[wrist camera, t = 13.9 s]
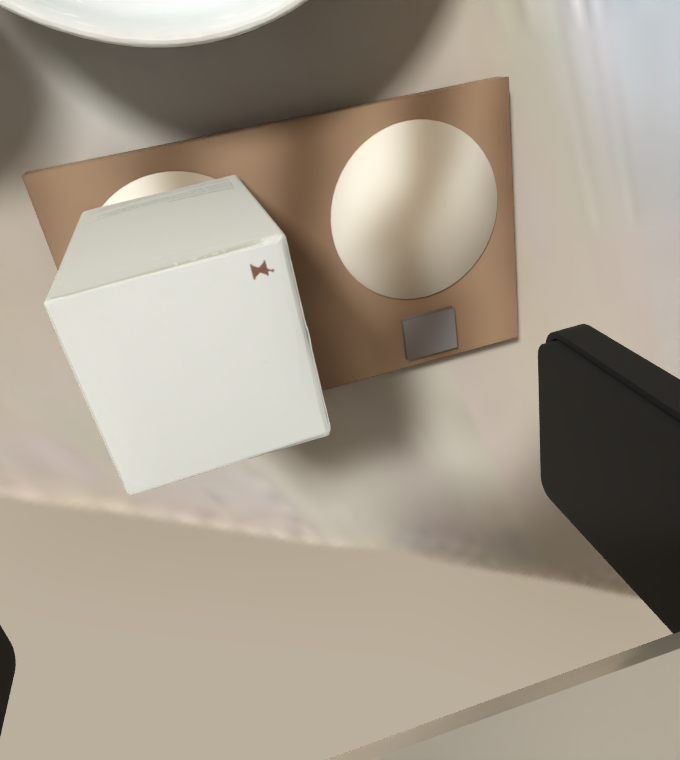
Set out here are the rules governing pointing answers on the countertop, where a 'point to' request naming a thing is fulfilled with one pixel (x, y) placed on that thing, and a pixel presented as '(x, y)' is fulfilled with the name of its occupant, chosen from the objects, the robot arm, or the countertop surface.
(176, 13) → the serving bowl
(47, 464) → the countertop surface
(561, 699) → the robot arm
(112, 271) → the supplement box
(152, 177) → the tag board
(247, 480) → the countertop surface
